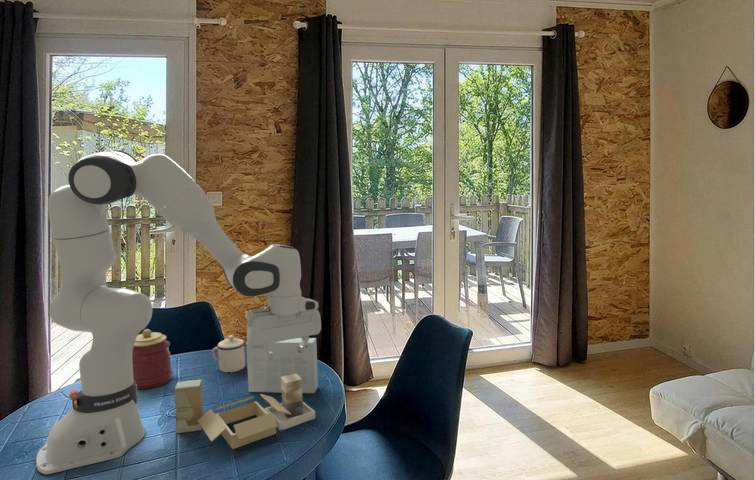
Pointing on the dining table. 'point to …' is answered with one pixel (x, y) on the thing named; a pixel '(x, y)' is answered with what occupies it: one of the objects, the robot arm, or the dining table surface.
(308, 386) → the skincare box
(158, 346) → the canister
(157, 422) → the dining table surface
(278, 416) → the tray
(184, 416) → the skincare box
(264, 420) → the carton
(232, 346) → the teacup with lid
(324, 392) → the dining table surface
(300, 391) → the chunky box
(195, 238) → the robot arm
